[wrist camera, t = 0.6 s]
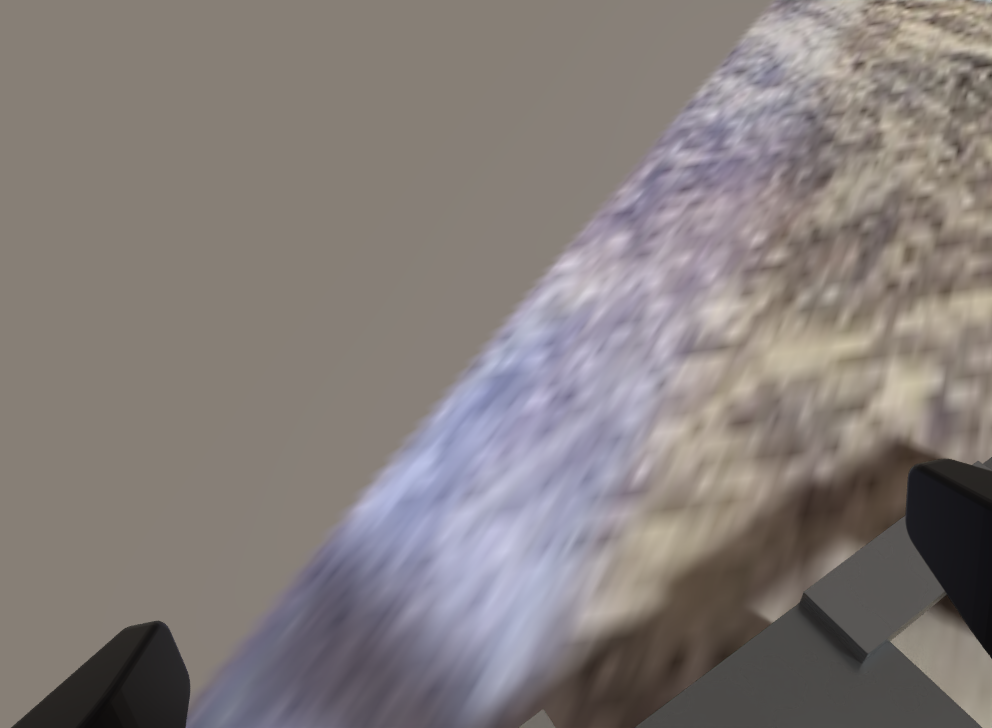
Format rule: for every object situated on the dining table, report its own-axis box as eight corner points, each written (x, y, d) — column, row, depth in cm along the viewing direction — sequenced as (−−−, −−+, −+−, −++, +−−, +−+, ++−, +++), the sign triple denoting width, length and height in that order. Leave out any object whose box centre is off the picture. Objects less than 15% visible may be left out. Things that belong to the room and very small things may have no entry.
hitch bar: (1160, 595, 23) (1243, 519, 20) (602, 1119, 16) (600, 1125, 13) (1002, 484, 26) (1052, 403, 23) (482, 888, 20) (459, 851, 17)
